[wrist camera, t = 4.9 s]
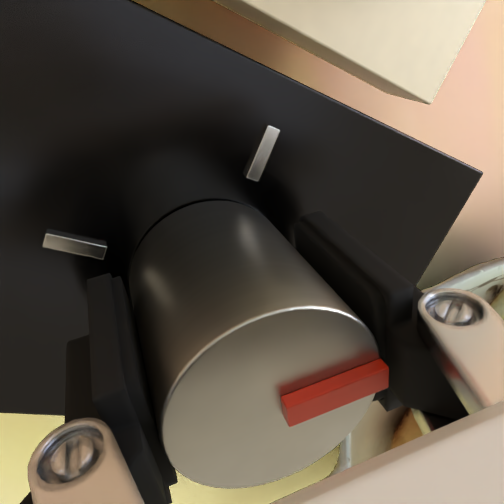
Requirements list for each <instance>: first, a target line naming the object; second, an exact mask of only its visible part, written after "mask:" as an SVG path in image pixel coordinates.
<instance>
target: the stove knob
mask: <svg viewBox="0 0 504 504" xmlns="http://www.w3.org/2000/svg"><path fill="white" fill-rule="evenodd" d="M129 285H130V293H131V298H132V303H133V308H134V314H135V319H136V324H137V329H138V334H139V339H140V344H141V349H142V354H143V359H144V364H145V369H146V374H147V379H148V384H149V389H150V394H151V399H152V404H153V409H154V414H155V420H156V425H157V430H158V435H159V439H160V443H161V447H162V450H163V452H164V454H165V456H166V458H167V459H168V461H169V462H170V463H171V464H172V466H173V467H174V468H175V469H176V470H177V471H178V472H180V473H181V474H182V475H183V476H185V477H187V478H188V479H190V480H192V481H194V482H197V483H199V484H202V485H206V486H211V487H216V488H246V487H253V486H258V485H263V484H267V483H270V482H273V481H277V480H279V479H282V478H285V477H287V476H290V475H292V474H294V473H296V472H298V471H300V470H302V469H304V468H306V467H308V466H309V465H311V464H313V463H314V462H316V461H317V460H319V459H320V458H322V457H323V456H325V455H326V454H327V453H329V452H330V451H331V450H332V449H334V448H335V447H336V446H337V445H338V444H339V443H341V442H342V441H343V440H344V439H345V438H346V437H347V436H348V435H349V434H350V432H351V431H352V430H353V429H354V428H355V427H356V425H357V424H358V423H359V422H360V420H361V419H362V418H363V416H364V414H365V413H366V411H367V410H368V408H369V406H370V404H371V402H372V400H373V398H374V396H375V393H376V392H379V391H381V390H384V389H386V388H388V387H389V367H388V366H387V365H386V364H385V362H384V361H383V360H382V359H381V356H380V352H379V348H378V344H377V342H376V340H375V337H374V335H373V334H372V332H371V331H370V330H369V328H368V327H367V326H366V325H365V324H364V323H363V321H362V320H361V319H360V318H359V317H358V316H357V315H356V314H355V313H354V312H353V311H352V310H351V309H350V307H349V306H348V305H347V304H346V303H345V302H344V301H343V300H342V299H341V298H340V297H339V296H338V295H337V293H336V292H335V291H334V290H333V289H332V288H331V287H330V286H329V285H328V284H327V283H326V282H325V281H324V279H323V278H322V277H321V276H320V275H319V274H318V273H317V272H316V271H315V270H314V269H313V268H312V267H311V265H310V264H309V263H308V262H307V261H306V260H305V259H304V258H303V257H302V256H301V255H300V254H299V253H298V251H297V250H296V249H295V248H294V247H293V246H292V245H291V244H290V243H289V242H288V241H287V240H286V238H285V237H284V236H283V235H282V234H281V233H280V232H279V231H278V230H277V229H276V228H275V227H274V226H273V224H272V223H271V222H270V221H269V220H268V219H267V218H266V217H264V216H263V215H262V214H260V213H259V212H258V211H256V210H254V209H252V208H250V207H248V206H246V205H243V204H240V203H235V202H230V201H206V202H201V203H196V204H193V205H190V206H187V207H184V208H182V209H180V210H177V211H175V212H173V213H172V214H170V215H169V216H167V217H165V218H164V219H163V220H162V221H160V222H159V223H158V224H157V225H155V226H154V227H153V229H152V230H151V231H150V232H149V233H148V234H147V235H146V236H145V238H144V239H143V241H142V242H141V243H140V245H139V247H138V249H137V251H136V253H135V255H134V258H133V261H132V264H131V269H130V276H129Z"/></svg>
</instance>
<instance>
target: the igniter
mask: <svg viewBox="0 0 504 504" xmlns="http://www.w3.org/2000/svg"><path fill="white" fill-rule="evenodd" d="M212 1H214V2H216V3H218V4H220V5H222V6H224V7H226V8H227V9H229V10H231V11H233V12H235V13H237V14H239V15H241V16H242V17H244V18H246V19H248V20H250V21H252V22H254V23H256V24H257V25H259V26H261V27H263V28H265V29H267V30H269V31H271V32H272V33H274V34H276V35H278V36H280V37H282V38H284V39H286V40H287V41H289V42H291V43H293V44H295V45H297V46H299V47H301V48H302V49H304V50H306V51H308V52H310V53H312V54H314V55H316V56H317V57H319V58H321V59H323V60H325V61H327V62H329V63H331V64H332V65H334V66H336V67H338V68H340V69H342V70H344V71H346V72H347V73H349V74H351V75H353V76H355V77H357V78H359V79H361V80H362V81H364V82H366V83H368V84H370V85H372V86H374V87H376V88H377V89H379V90H381V91H383V92H385V93H387V94H391V95H395V96H399V97H402V98H406V99H410V100H414V101H418V102H422V103H425V104H431V103H432V101H433V100H434V98H435V96H436V94H437V92H438V90H439V88H440V86H441V85H442V83H443V81H444V79H445V77H446V75H447V73H448V71H449V69H450V68H451V66H452V64H453V62H454V60H455V58H456V56H457V54H458V53H459V51H460V49H461V47H462V45H463V43H464V41H465V39H466V38H467V36H468V34H469V32H470V30H471V28H472V26H473V24H474V22H475V21H476V19H477V17H478V15H479V13H480V11H481V9H482V7H483V6H484V4H485V2H486V0H212Z"/></svg>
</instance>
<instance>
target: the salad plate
mask: <svg viewBox="0 0 504 504" xmlns="http://www.w3.org/2000/svg"><path fill="white" fill-rule="evenodd" d="M440 288H455V289H462V290H465V291H469V292H472V293H474V294H476V295H478V296H480V297H481V298H482V299H484V300H485V301H486V302H487V303H488V304H489V305H490V306H491V307H492V308H493V309H494V310H495V311H496V312H497V313H498V315H499V316H500V317H501V318H502V319H504V257H502V258H498V259H493V260H491V261H488V262H485V263H481V264H477V265H475V266H473V267H471V268H469V269H467V270H465V271H462V272H460V273H458V274H456V275H454V276H452V277H451V278H449V279H447V280H445V281H443V282H441V283H439V284H438V285H435V286H433V287H430V288H426V289H424V290H421V291H422V292H423V293H424V294H426V293H427V292H429V291H432V290H435V289H440ZM421 436H423V434H422V432H421V430H420V428H419V426H418V424H417V422H416V420H415V418H414V416H413V413H412V410H411V408H409V407H405V406H400V407H398V408H395V409H393V410H391V411H388V412H387V411H386V410H385V409H384V408H383V406H382V405H381V404H380V402H379V401H378V400H377V401H372V402H371V404H370V406H369V408H368V410H367V411H366V413H365V414H364V416H363V418H362V419H361V420H360V422H359V423H358V424H357V425H356V427H355V428H354V429H353V430H352V431H351V432H350V434H349V435H348V436H347V437H346V438H345V439H344V440H343V441H342V442H341V443H340V449H339V457H338V460H337V464H336V466H335V468H334V470H333V471H332V472H331V473H330V475H329V476H327V477H326V478H328V477H330V476H333V475H335V474H337V473H339V472H342V471H344V470H346V469H348V468H351V467H353V466H355V465H357V464H360V463H362V462H364V461H366V460H369V459H371V458H373V457H375V456H378V455H380V454H382V453H384V452H387V451H389V450H391V449H393V448H396V447H398V446H400V445H402V444H405V443H407V442H409V441H412V440H414V439H416V438H418V437H421ZM326 478H324V479H326ZM324 479H322V480H324Z"/></svg>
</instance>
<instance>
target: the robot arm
mask: <svg viewBox="0 0 504 504" xmlns="http://www.w3.org/2000/svg"><path fill="white" fill-rule="evenodd" d="M294 237H295V246H296V250H297V251H298V253H299V254H300V255H301V256H302V257H303V258H304V259H305V260H306V261H307V262H308V263H309V264H310V265H311V267H312V268H313V269H314V270H315V271H316V272H317V273H318V274H319V275H320V276H321V277H322V278H323V279H324V281H325V282H326V283H327V284H328V285H329V286H330V287H331V288H332V289H333V290H334V291H335V292H336V293H337V295H338V296H339V297H340V298H341V299H342V300H343V301H344V302H345V303H346V304H347V305H348V306H349V307H350V309H351V310H352V311H353V312H354V313H355V314H356V315H357V316H358V317H359V318H360V319H361V320H362V321H363V323H364V324H365V325H366V326H367V327H368V328H369V330H370V331H371V332H372V334H373V335H374V337H375V340H376V342H377V344H378V348H379V352H380V356H381V359H382V360H383V361H384V362H385V364H386V365H387V366H388V367H389V387H388V388H386V389H384V390H381V391H379V392H376V393H375V396H374V398H373V400H372V401H377V400H378V401H379V402H380V404H381V405H382V406H383V408H384V409H385V410H386V411H387V412H388V411H391V410H393V409H395V408H398V407H400V406H405V407H409V408H411V410H412V413H413V416H414V418H415V420H416V422H417V424H418V426H419V428H420V430H421V432H422V434H423V436H421V437H418V438H416V439H414V440H412V441H409V442H407V443H405V444H402V445H400V446H398V447H396V448H393V449H391V450H389V451H387V452H384V453H382V454H380V455H378V456H375V457H373V458H371V459H369V460H366V461H364V462H362V463H360V464H357V465H355V466H353V467H351V468H348V469H346V470H344V471H342V472H339V473H337V474H335V475H333V476H330V477H328V478H326V479H324V480H321V481H319V482H317V483H315V484H312V485H310V486H308V487H306V488H303V489H301V490H299V491H297V492H294V493H292V494H290V495H288V496H285V497H283V498H281V499H279V500H276V501H274V502H272V503H270V504H504V319H502V318H501V317H500V316H499V315H498V313H497V312H496V311H495V310H494V309H493V308H492V307H491V306H490V305H489V304H488V303H487V302H486V301H485V300H484V299H482V298H481V297H480V296H478V295H476V294H474V293H472V292H469V291H465V290H462V289H455V288H440V289H435V290H432V291H429V292H427V293H426V294H424V293H423V292H422V291H420V290H419V289H418V288H417V287H415V286H414V285H413V284H412V283H411V282H409V281H408V280H407V279H406V278H404V277H403V276H402V275H401V274H399V273H398V272H397V271H396V270H394V269H393V268H392V267H391V266H389V265H388V264H387V263H386V262H385V261H383V260H382V259H381V258H380V257H378V256H377V255H376V254H375V253H373V252H372V251H371V250H370V249H368V248H366V247H365V246H364V245H362V244H361V243H360V242H359V241H358V240H356V239H355V238H354V237H353V236H351V235H350V234H349V233H348V232H346V231H345V230H344V229H343V228H342V227H340V226H339V225H338V224H337V223H335V222H334V221H333V220H332V219H330V218H329V217H328V216H327V215H326V214H324V213H323V212H321V211H317V212H314V213H310V214H307V215H304V216H300V218H299V223H295V224H294ZM87 300H88V322H89V335H86V336H83V337H80V338H77V339H74V340H71V341H68V343H67V347H66V388H65V424H63V425H61V426H59V427H58V428H56V429H55V430H53V431H52V432H50V433H49V434H48V435H47V436H46V437H45V438H44V439H43V440H42V441H41V442H40V443H39V445H38V446H37V448H36V449H35V451H34V452H33V454H32V456H31V459H30V461H29V464H28V481H29V486H30V490H31V491H30V493H29V494H28V495H27V496H26V497H25V498H24V500H23V501H22V502H21V503H20V504H170V503H172V500H171V495H170V490H169V486H171V485H173V484H175V483H177V476H176V471H175V468H174V467H173V466H172V464H171V463H170V462H169V461H168V459H167V458H166V456H165V454H164V452H163V450H162V447H161V443H160V439H159V435H158V430H157V425H156V420H155V414H154V409H153V404H152V399H151V394H150V389H149V384H148V379H147V374H146V369H145V364H144V359H143V354H142V349H141V344H140V339H139V334H138V329H137V324H136V319H135V315H134V312H133V309H132V306H131V304H130V301H129V298H128V295H127V292H126V290H125V287H124V284H123V281H122V279H121V277H120V276H118V277H115V278H112V276H111V274H110V273H108V274H104V275H101V276H98V277H94V278H91V279H88V280H87Z"/></svg>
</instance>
